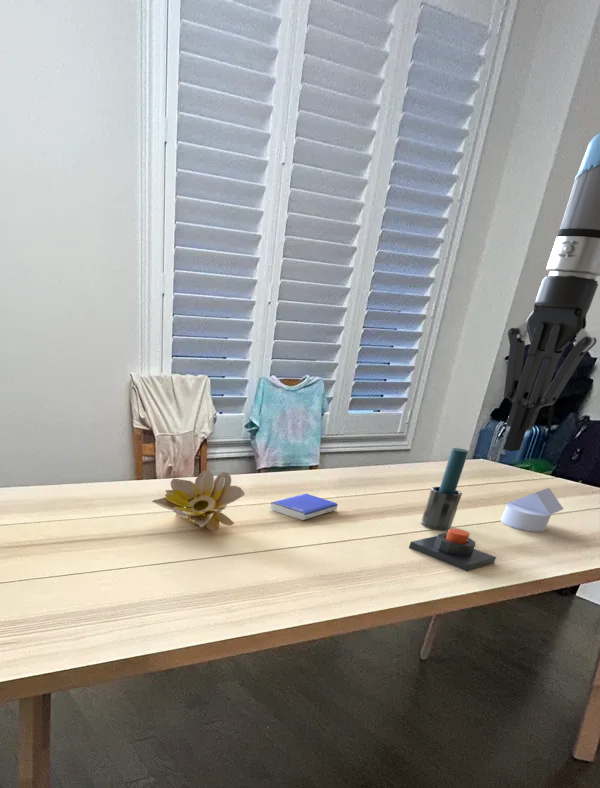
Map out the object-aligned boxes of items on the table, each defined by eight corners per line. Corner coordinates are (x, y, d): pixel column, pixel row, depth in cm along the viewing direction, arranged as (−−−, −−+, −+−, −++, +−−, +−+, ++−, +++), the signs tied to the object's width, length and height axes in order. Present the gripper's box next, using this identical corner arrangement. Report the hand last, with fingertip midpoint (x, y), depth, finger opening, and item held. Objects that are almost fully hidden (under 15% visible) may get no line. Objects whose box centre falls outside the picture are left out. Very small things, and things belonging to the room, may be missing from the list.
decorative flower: (136, 504, 113) (152, 447, 108) (178, 511, 121) (195, 457, 117) (193, 536, 105) (212, 476, 101) (234, 541, 114) (254, 485, 109)
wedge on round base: (516, 512, 143) (494, 521, 135) (528, 482, 140) (506, 489, 131) (557, 524, 139) (536, 534, 130) (570, 493, 135) (550, 501, 127)
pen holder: (455, 528, 128) (467, 493, 124) (439, 532, 124) (451, 496, 120) (431, 520, 131) (442, 485, 127) (415, 523, 128) (425, 488, 124)
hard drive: (305, 512, 121) (338, 503, 129) (270, 501, 125) (304, 492, 133) (303, 520, 122) (336, 510, 130) (269, 509, 126) (303, 500, 134)
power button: (470, 543, 112) (473, 533, 111) (459, 546, 110) (462, 536, 109) (452, 536, 114) (455, 527, 113) (441, 539, 112) (444, 529, 111)
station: (494, 563, 112) (500, 547, 110) (466, 571, 107) (472, 554, 105) (436, 541, 119) (441, 525, 118) (408, 548, 114) (413, 531, 113)
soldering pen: (447, 524, 127) (471, 451, 119) (438, 526, 126) (462, 452, 118) (434, 520, 129) (457, 447, 121) (426, 521, 127) (449, 448, 120)
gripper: (517, 271, 93) (464, 442, 107) (607, 276, 85) (538, 460, 99) (540, 276, 98) (487, 440, 111) (628, 282, 90) (559, 457, 103)
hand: (511, 449), depth 105 cm, fingers closed
